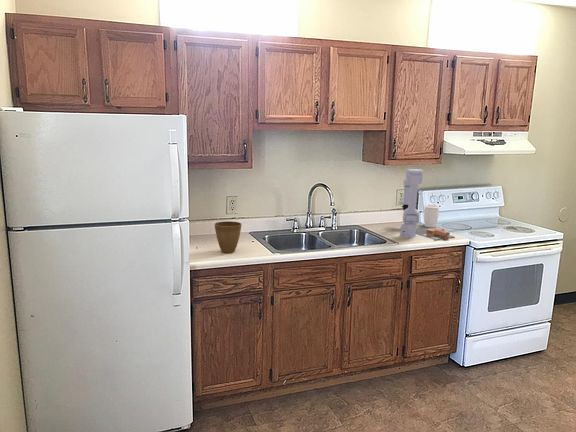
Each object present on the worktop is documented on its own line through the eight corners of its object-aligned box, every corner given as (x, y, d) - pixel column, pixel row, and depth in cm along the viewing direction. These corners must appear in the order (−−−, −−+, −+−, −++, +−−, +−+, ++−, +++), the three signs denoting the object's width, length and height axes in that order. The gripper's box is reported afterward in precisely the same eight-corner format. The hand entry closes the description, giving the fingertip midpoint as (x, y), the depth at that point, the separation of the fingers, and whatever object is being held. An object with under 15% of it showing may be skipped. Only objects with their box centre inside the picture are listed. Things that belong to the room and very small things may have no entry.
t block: (440, 239, 306) (440, 233, 305) (426, 235, 316) (426, 229, 315) (453, 237, 312) (454, 231, 311) (439, 233, 322) (439, 227, 321)
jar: (438, 228, 341) (440, 207, 338) (423, 227, 342) (425, 206, 339) (436, 225, 351) (438, 205, 348) (421, 224, 353) (423, 204, 350)
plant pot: (245, 253, 268) (246, 225, 265) (220, 256, 260) (220, 227, 257) (234, 246, 280) (234, 219, 277) (210, 249, 273) (210, 222, 270)
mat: (435, 240, 306) (435, 239, 305) (402, 231, 330) (402, 230, 330) (454, 237, 315) (454, 236, 314) (421, 228, 339) (421, 227, 339)
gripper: (419, 197, 329) (418, 217, 331) (404, 194, 341) (403, 213, 343) (412, 198, 325) (410, 217, 328) (397, 195, 337) (395, 214, 340)
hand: (406, 215), depth 335 cm, fingers closed
